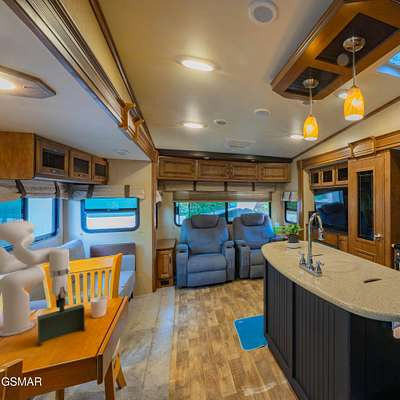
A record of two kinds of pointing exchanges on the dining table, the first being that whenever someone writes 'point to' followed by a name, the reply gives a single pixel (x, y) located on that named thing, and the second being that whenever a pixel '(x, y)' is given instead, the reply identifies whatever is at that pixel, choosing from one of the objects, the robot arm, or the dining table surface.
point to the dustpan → (60, 322)
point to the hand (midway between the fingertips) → (60, 306)
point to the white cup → (98, 306)
